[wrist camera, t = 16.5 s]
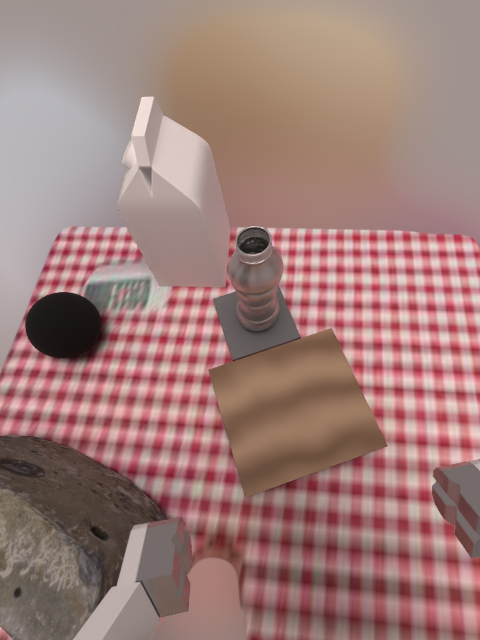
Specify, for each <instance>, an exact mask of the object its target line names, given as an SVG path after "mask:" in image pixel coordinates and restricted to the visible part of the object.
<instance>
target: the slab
mask: <svg viewBox="0 0 480 640" xmlns="http://www.w3.org/2000/svg"><path fill="white" fill-rule="evenodd" d="M209 374H210V377H211V381H212V384H213V388H214V391H215V395H216V398H217V401H218V405H219V408H220V412H221V415H222V419H223V422H224V426H225V429H226V432H227V436H228V439H229V443H230V446H231V450H232V453H233V457H234V460H235V463H236V467H237V470H238V474H239V477H240V481H241V484H242V488H243V491H244V495H245V497H248V496H251V495H254V494H257V493H259V492H262V491H265V490H268V489H270V488H273V487H276V486H279V485H281V484H284V483H287V482H290V481H293V480H295V479H298V478H301V477H304V476H306V475H309V474H312V473H315V472H317V471H320V470H323V469H326V468H329V467H331V466H334V465H337V464H340V463H342V462H345V461H348V460H351V459H354V458H356V457H359V456H362V455H365V454H367V453H370V452H373V451H376V450H378V449H381V448H384V447H387V444H386V441H385V439H384V437H383V435H382V433H381V431H380V429H379V427H378V425H377V423H376V420H375V418H374V416H373V414H372V412H371V410H370V408H369V406H368V404H367V401H366V399H365V397H364V395H363V393H362V391H361V389H360V387H359V385H358V383H357V380H356V378H355V376H354V374H353V372H352V370H351V368H350V366H349V364H348V362H347V359H346V357H345V355H344V353H343V351H342V349H341V347H340V345H339V343H338V340H337V338H336V336H335V334H334V332H333V330H332V328H330V329H327V330H324V331H321V332H318V333H316V334H313V335H310V336H307V337H304V338H301V339H298V340H295V341H292V342H289V343H286V344H283V345H280V346H277V347H274V348H271V349H268V350H266V351H263V352H260V353H257V354H254V355H251V356H248V357H245V358H242V359H239V360H236V361H233V362H230V363H227V364H224V365H221V366H218V367H215V368H213V369H210V370H209Z"/></svg>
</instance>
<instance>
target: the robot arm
mask: <svg viewBox="0 0 480 640" xmlns="http://www.w3.org/2000/svg"><path fill="white" fill-rule="evenodd" d="M433 477H434V478H435V479H436V483H435V484H434V485H433V486H432V495H433V499H434V502H435V504H436V506H437V508H438V510H439V512H440V513H441V515H442V516H443V518H444V519H445V520H447V521H448V522H450V523H451V524H453V525H454V526H455V535H456V537H457V538H458V539H459V541H460V542H461V544H462V545H463V547H464V548H465V549H466V551H467V552H468V554H469V555H470V557H471V558H474V557H480V459H479V460H474V461H470V462H462V463H457V464H452V465H447V466H442V467H438V468H436V469H435V470H434V473H433ZM184 526H185V523H184V521H183V519H182V517H179V518H173V519H167V520H161V521H156V522H149V523H144V524H138V525H134V526H133V528H132V530H131V532H130V536H129V540H128V544H127V548H126V552H125V555H124V559H123V563H122V567H121V571H120V575H119V579H118V582H117V586H114V587H111V589H110V590H109V591H108V593H107V594H106V596H105V597H104V598H103V600H102V601H101V602H100V604H99V605H98V606H97V608H96V609H95V610H94V612H93V613H92V615H91V616H90V617H89V619H88V620H87V621H86V623H85V624H84V625H83V627H82V628H81V629H80V631H79V632H78V634H77V635H76V636H75V638H74V639H73V640H150V639H151V637H152V635H153V633H154V631H155V629H156V627H157V625H158V623H159V621H160V617H164V616H168V615H173V614H178V613H182V612H186V611H188V608H189V595H190V582H189V580H188V577H187V574H188V572H189V570H190V569H191V567H192V545H191V540H190V536H189V533H188V532H186V531H184Z"/></svg>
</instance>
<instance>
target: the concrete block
mask: <svg viewBox="0 0 480 640" xmlns="http://www.w3.org/2000/svg"><path fill="white" fill-rule="evenodd" d="M161 520H166V518H165V516H164V515H163V513H162V512H161V510H160V509H159V508H158V506H157V505H156V504H155V503H154V502H153V501H152V500H151V499H149V498H148V497H147V496H146V495H145V494H144V493H142V492H141V491H140V490H139V489H137V488H136V487H135V486H133V485H132V484H131V483H130V481H129V480H128V479H127V478H124V477H123V476H121V475H119V474H118V473H116V472H115V471H113V470H111V469H109V468H107V467H105V466H103V465H101V464H100V463H98V462H96V461H94V460H92V459H90V458H88V457H87V456H85V455H83V454H81V453H79V452H77V451H75V450H73V449H71V448H69V447H67V446H63V445H60V444H57V443H54V442H51V441H48V440H44V439H40V438H36V437H30V436H19V435H6V436H0V627H1V628H2V629H3V630H5V631H6V632H7V633H8V634H9V636H10V637H11V638H12V639H13V640H73V639H74V638H75V636H76V635H77V634H78V632H79V631H80V629H81V628H82V627H83V625H84V624H85V623H86V621H87V620H88V619H89V617H90V616H91V615H92V613H93V612H94V610H95V609H96V608H97V606H98V605H99V604H100V602H101V601H102V600H103V598H104V597H105V596H106V594H107V593H108V591H109V590H110V589H111V587H114V586H117V582H118V579H119V575H120V571H121V567H122V563H123V559H124V555H125V552H126V548H127V544H128V540H129V536H130V532H131V530H132V528H133V526H134V525H138V524H144V523H149V522H156V521H161Z"/></svg>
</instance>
